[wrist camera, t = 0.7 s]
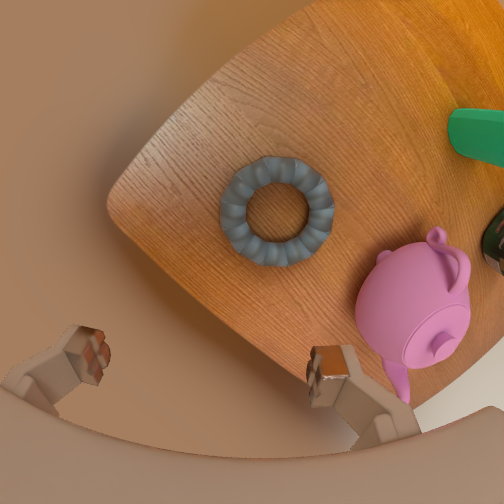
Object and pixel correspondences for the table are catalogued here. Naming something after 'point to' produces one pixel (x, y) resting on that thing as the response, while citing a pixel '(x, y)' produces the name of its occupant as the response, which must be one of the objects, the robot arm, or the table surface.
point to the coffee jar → (495, 243)
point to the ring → (259, 177)
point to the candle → (478, 134)
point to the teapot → (415, 306)
